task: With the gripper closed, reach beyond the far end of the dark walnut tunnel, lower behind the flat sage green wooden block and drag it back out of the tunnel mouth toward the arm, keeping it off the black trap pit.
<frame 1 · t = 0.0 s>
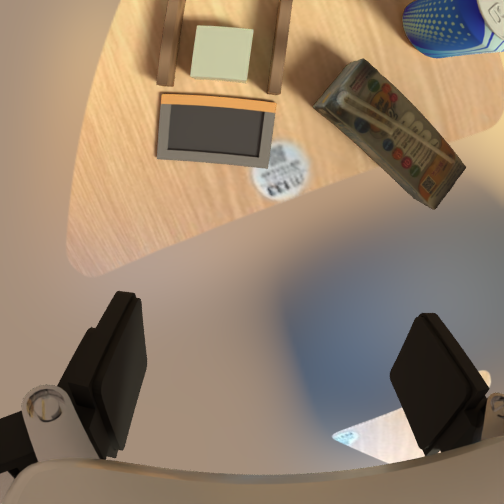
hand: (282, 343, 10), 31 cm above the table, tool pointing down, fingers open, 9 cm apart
beverage carton: (383, 132, 37), on the table
beer can: (424, 30, 30), on the table
block: (223, 57, 33), on the table
trap pit: (215, 129, 36), on the table
tunnel: (225, 41, 32), on the table
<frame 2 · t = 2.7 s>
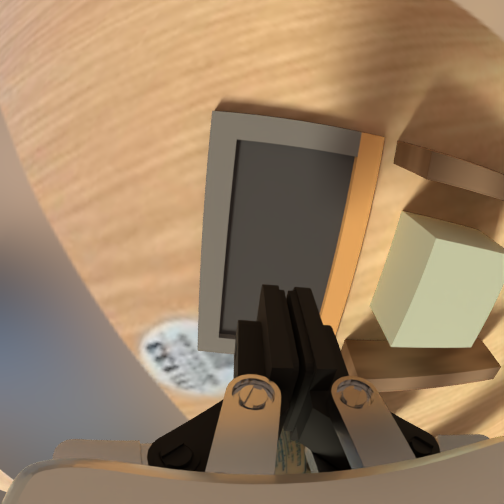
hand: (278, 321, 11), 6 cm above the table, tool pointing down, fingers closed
beverage carton: (268, 452, 26), on the table
block: (426, 266, 18), on the table
trap pit: (280, 252, 17), on the table
tunnel: (452, 270, 17), on the table
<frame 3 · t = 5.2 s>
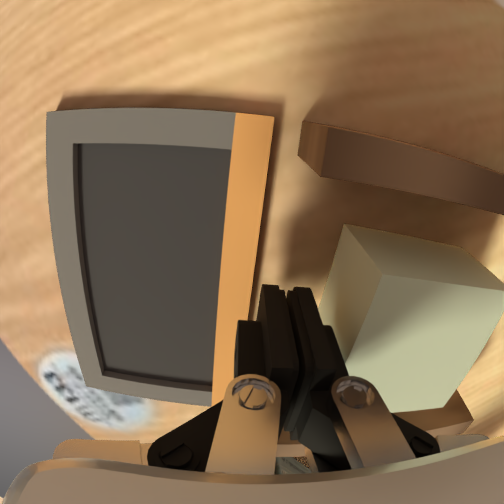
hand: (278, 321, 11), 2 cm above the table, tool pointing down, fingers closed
beverage carton: (199, 484, 22), on the table
block: (386, 298, 13), on the table, touching gripper
trap pit: (150, 282, 13), on the table
tunnel: (405, 302, 13), on the table
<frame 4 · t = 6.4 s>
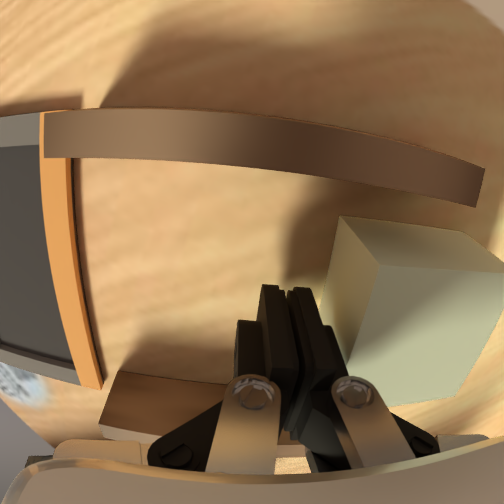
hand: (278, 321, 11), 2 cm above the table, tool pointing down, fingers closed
block: (389, 288, 13), on the table
trap pit: (12, 264, 12), on the table
tunnel: (247, 292, 13), on the table
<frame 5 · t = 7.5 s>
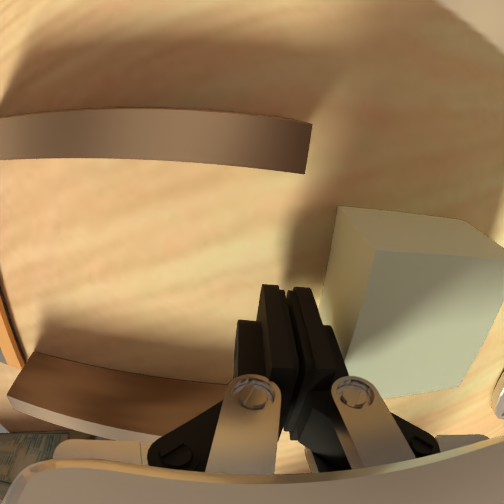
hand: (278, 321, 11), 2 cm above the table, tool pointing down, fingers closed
beverage carton: (59, 452, 20), on the table
block: (390, 278, 13), on the table, touching gripper
tunnel: (117, 279, 12), on the table
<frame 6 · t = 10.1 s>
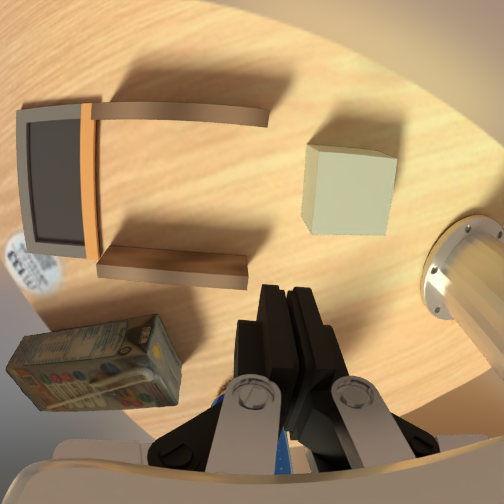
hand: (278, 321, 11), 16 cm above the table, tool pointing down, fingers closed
beverage carton: (97, 349, 32), on the table
beer can: (245, 400, 37), on the table
block: (338, 182, 26), on the table
trap pit: (56, 183, 24), on the table
tunnel: (177, 187, 25), on the table
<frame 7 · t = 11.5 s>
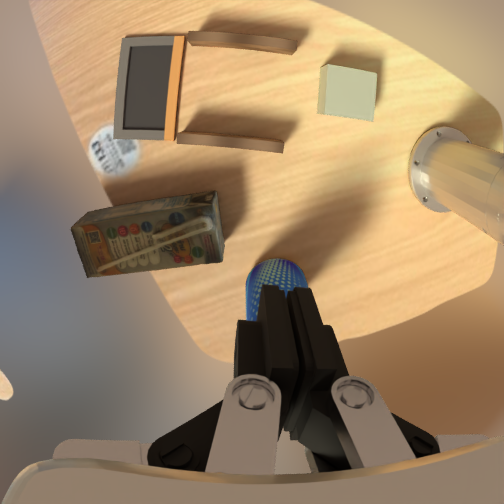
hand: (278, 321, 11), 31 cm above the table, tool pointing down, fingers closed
beverage carton: (154, 225, 43), on the table
beer can: (275, 280, 47), on the table
block: (341, 93, 36), on the table
trap pit: (147, 87, 35), on the table
tunnel: (236, 91, 35), on the table
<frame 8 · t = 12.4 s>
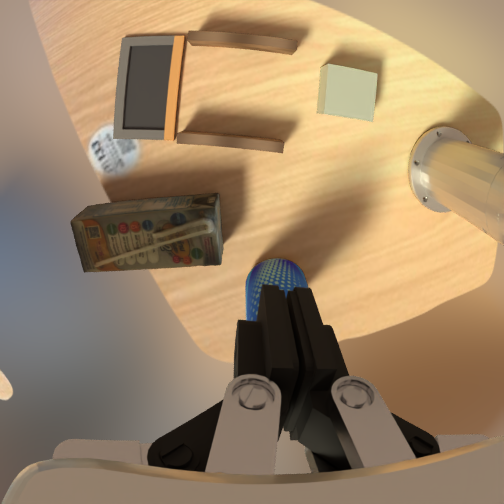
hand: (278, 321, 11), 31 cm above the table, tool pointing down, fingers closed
beverage carton: (154, 223, 43), on the table
beer can: (274, 279, 47), on the table
block: (341, 93, 36), on the table
trap pit: (147, 86, 35), on the table
tunnel: (236, 90, 35), on the table
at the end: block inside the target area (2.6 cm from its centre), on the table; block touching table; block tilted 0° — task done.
